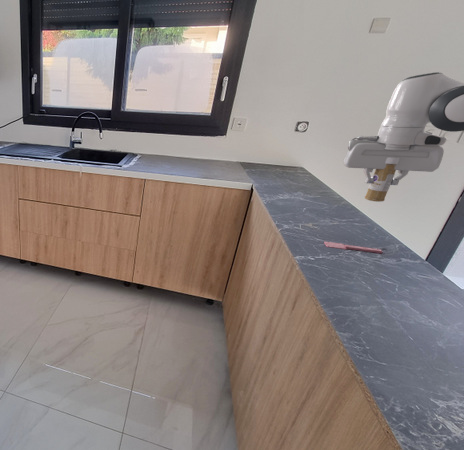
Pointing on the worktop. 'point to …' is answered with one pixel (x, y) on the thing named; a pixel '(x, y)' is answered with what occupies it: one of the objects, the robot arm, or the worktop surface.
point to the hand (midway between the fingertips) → (380, 183)
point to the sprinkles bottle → (382, 181)
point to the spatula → (351, 247)
